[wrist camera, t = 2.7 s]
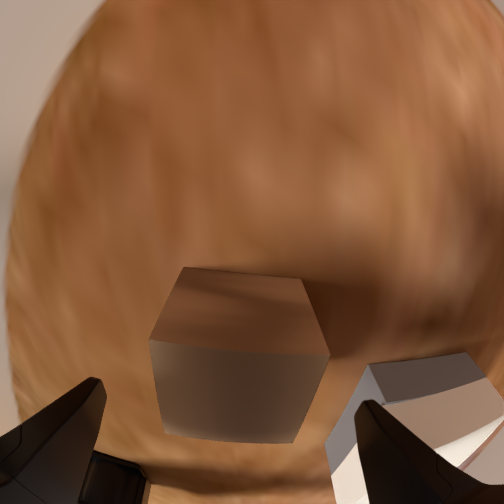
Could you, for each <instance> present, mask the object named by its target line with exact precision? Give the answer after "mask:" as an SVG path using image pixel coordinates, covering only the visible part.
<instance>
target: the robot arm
mask: <svg viewBox="0 0 504 504" xmlns="http://www.w3.org/2000/svg"><path fill="white" fill-rule="evenodd" d="M106 400H107V394H106V391H105V388H104V385H103V383H102V381H101V379H98V378H95V377H89V378H87V379H86V380H84V381H83V382H81V383H80V384H79V385H77V386H76V387H74V388H73V389H71V390H70V391H68V392H67V393H65V394H64V395H63V396H61V397H60V398H58V399H57V400H55V401H54V402H52V403H51V404H49V405H48V406H46V407H45V408H44V409H42V410H41V411H39V412H38V413H36V414H35V415H33V416H32V417H30V418H29V419H27V420H26V421H24V422H23V423H22V425H21V424H20V425H18V426H17V427H16V428H14V429H13V430H11V431H9V432H8V433H6V434H4V435H3V436H1V437H0V504H148V499H149V493H150V488H151V485H150V483H149V481H148V479H147V478H146V476H145V475H144V473H143V471H142V469H141V467H140V466H138V465H135V464H131V463H128V462H124V461H121V460H117V459H114V458H111V457H108V456H104V455H101V454H98V453H96V452H93V449H94V446H95V443H96V440H97V437H98V434H99V430H100V425H101V421H102V416H103V412H104V408H105V404H106ZM354 423H355V430H356V439H357V447H358V454H359V459H360V463H361V467H362V472H363V476H364V481H365V485H366V490H367V494H368V499H369V504H504V485H503V484H502V485H488V484H484V483H482V482H480V481H478V480H476V479H475V478H473V477H471V476H470V475H468V474H466V473H464V472H463V471H461V470H460V469H458V468H457V467H455V466H454V465H452V464H451V463H450V462H448V461H447V460H446V459H444V458H443V457H442V456H441V455H439V454H438V453H437V454H436V451H434V450H433V449H432V448H431V447H429V446H428V445H427V444H426V443H425V442H423V441H422V440H421V439H420V438H419V437H417V436H416V435H415V434H414V433H413V432H412V431H410V430H409V429H408V428H407V427H406V426H404V425H403V424H402V423H401V422H400V421H399V420H397V419H396V418H395V417H394V416H393V415H392V414H390V413H389V412H388V411H387V410H386V409H385V408H383V407H382V406H381V405H380V404H379V403H378V402H377V401H375V400H373V399H369V400H363V401H362V402H361V404H360V406H359V407H358V409H357V411H356V412H355V415H354Z"/></svg>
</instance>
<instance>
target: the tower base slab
mask: <svg viewBox="0 0 504 504" xmlns="http://www.w3.org/2000/svg"><path fill="white" fill-rule="evenodd" d="M486 377H487V376H486V375H485V374H484V373H483V371H482V370H481V369H480V368H479V366H478V365H477V364H476V363H475V362H474V360H473V359H472V358H471V357H470V356H469V355H468V353H467V352H463V353H457V354H451V355H445V356H439V357H432V358H425V359H417V360H409V361H399V362H389V363H376V364H367V367H366V369H365V371H364V373H363V375H362V377H361V379H360V381H359V383H358V385H357V387H356V389H355V391H354V393H353V395H352V397H351V399H350V401H349V402H348V404H347V406H346V408H345V410H344V412H343V413H342V415H341V417H340V419H339V420H338V422H337V424H336V426H335V427H334V429H333V431H332V432H331V434H330V435H329V437H328V439H327V440H326V442H325V443H324V445H325V449H326V453H327V458H328V462H329V467H330V471H331V475H332V474H333V473H334V472H335V471H336V469H337V468H338V467H339V466H340V464H341V463H342V462H343V461H344V459H345V458H346V457H347V455H348V454H349V453H350V451H351V450H352V449H353V447H354V446H355V444H356V443H357V439H356V430H355V423H354V415H355V412H356V411H357V409H358V407H359V406H360V404H361V402H362V401H363V400H369V399H373V400H375V401H377V402H378V403H379V404H380V405H381V406H383V405H388V404H394V403H399V402H403V401H408V400H413V399H417V398H421V397H425V396H429V395H433V394H437V393H440V392H444V391H447V390H450V389H454V388H457V387H460V386H463V385H466V384H469V383H472V382H475V381H478V380H480V379H483V378H486Z"/></svg>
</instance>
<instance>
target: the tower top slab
mask: <svg viewBox="0 0 504 504" xmlns="http://www.w3.org/2000/svg"><path fill="white" fill-rule="evenodd" d="M382 407H383V408H385V409H386V410H387V411H388V412H389V413H390V414H392V415H393V416H394V417H395V418H396V419H397V420H399V421H400V422H401V423H402V424H403V425H404V426H406V427H407V428H408V429H409V430H410V431H412V432H413V433H414V434H415V435H416V436H417V437H419V438H420V439H421V440H422V441H423V442H425V443H426V444H427V445H428V446H429V447H431V448H432V449H433V450H434V451H436V454H437V453H438V454H439V455H441V456H442V457H443V458H444V459H446V460H447V461H448V462H450V463H451V464H452V465H454V466H455V467H458V466H459V465H460V464H461V463H462V462H463V461H464V460H466V459H467V458H468V457H469V456H470V455H471V454H472V453H473V452H474V451H475V450H476V449H477V448H478V447H479V446H480V445H481V444H482V443H483V442H484V441H485V440H486V439H487V438H488V437H489V436H490V435H491V433H492V432H493V431H494V430H495V429H496V428H497V427H498V426H499V424H500V423H501V422H502V421H503V420H504V400H503V398H502V397H501V396H500V394H499V393H498V392H497V390H496V389H495V388H494V386H493V385H492V384H491V382H490V381H489V380H488V379H487V377H486V378H483V379H480V380H478V381H475V382H472V383H469V384H466V385H463V386H460V387H457V388H454V389H450V390H447V391H444V392H440V393H437V394H433V395H429V396H425V397H421V398H417V399H413V400H408V401H403V402H399V403H394V404H388V405H383V406H382ZM331 479H332V483H333V488H334V493H335V498H336V502H337V504H369V499H368V494H367V490H366V485H365V481H364V476H363V472H362V467H361V463H360V459H359V454H358V447H357V443H356V444H355V446H354V447H353V449H352V450H351V451H350V453H349V454H348V455H347V457H346V458H345V459H344V461H343V462H342V463H341V464H340V466H339V467H338V468H337V469H336V471H335V472H334V473H333V474H332V475H331Z"/></svg>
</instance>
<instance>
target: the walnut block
mask: <svg viewBox="0 0 504 504" xmlns="http://www.w3.org/2000/svg"><path fill="white" fill-rule="evenodd" d="M149 345H150V353H151V361H152V368H153V374H154V380H155V386H156V392H157V398H158V403H159V408H160V413H161V418H162V423H163V427H164V432H165V434H170V435H176V436H182V437H189V438H196V439H204V440H214V441H224V442H238V443H267V444H279V443H293V442H294V440H295V438H296V436H297V433H298V431H299V429H300V427H301V425H302V423H303V421H304V418H305V416H306V414H307V412H308V409H309V407H310V405H311V403H312V400H313V398H314V396H315V393H316V391H317V388H318V386H319V383H320V381H321V378H322V376H323V373H324V371H325V368H326V366H327V363H328V360H329V358H330V352H329V349H328V347H327V344H326V341H325V339H324V336H323V333H322V331H321V328H320V326H319V323H318V321H317V318H316V315H315V313H314V310H313V308H312V305H311V303H310V300H309V298H308V295H307V293H306V290H305V288H304V285H303V283H302V280H301V279H297V278H286V277H275V276H264V275H254V274H244V273H234V272H224V271H214V270H205V269H196V268H187V267H183V269H182V271H181V273H180V275H179V277H178V279H177V281H176V283H175V285H174V287H173V289H172V291H171V293H170V295H169V297H168V299H167V301H166V304H165V306H164V308H163V310H162V312H161V314H160V316H159V318H158V320H157V322H156V325H155V327H154V329H153V331H152V333H151V335H150V338H149Z"/></svg>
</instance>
